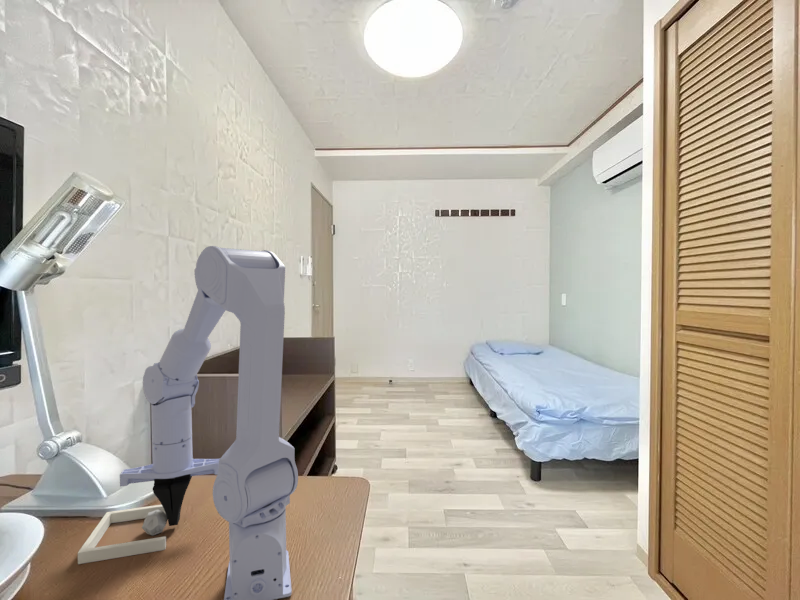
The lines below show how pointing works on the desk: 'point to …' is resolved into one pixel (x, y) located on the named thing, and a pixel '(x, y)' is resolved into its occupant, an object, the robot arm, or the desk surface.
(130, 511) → the bay
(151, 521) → the game die
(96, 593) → the desk surface
